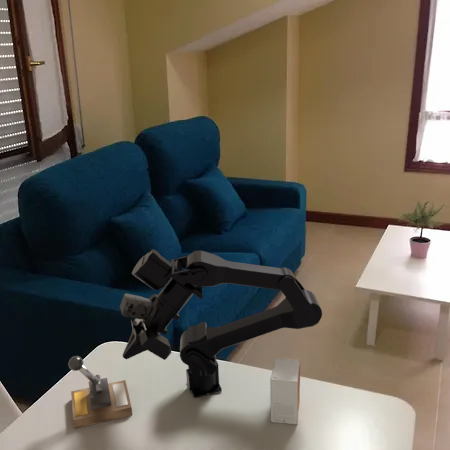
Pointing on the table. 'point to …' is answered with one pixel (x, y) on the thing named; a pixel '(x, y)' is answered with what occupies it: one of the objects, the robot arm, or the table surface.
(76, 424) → the switch unit
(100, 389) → the lever
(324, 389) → the table surface
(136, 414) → the table surface
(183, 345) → the robot arm
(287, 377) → the small box
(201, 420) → the table surface
